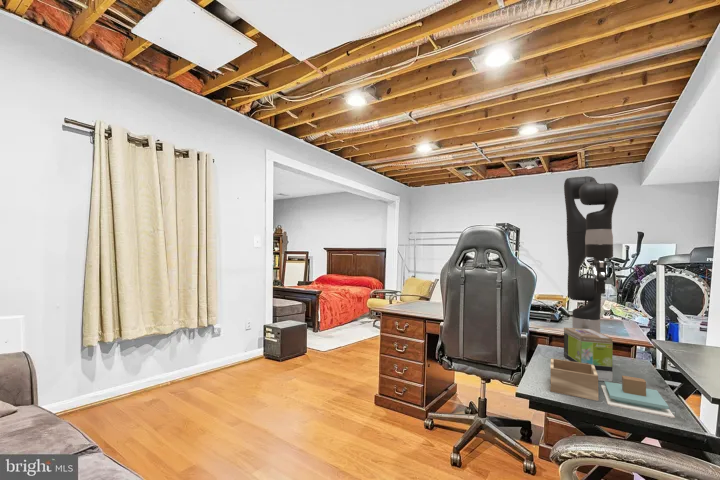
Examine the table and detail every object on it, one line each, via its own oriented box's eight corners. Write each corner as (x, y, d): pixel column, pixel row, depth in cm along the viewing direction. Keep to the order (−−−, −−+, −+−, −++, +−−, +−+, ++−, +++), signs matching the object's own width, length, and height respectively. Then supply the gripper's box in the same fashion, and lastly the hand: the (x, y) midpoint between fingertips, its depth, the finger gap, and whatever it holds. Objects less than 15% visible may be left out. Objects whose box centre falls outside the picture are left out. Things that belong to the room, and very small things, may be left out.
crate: (551, 379, 112) (550, 358, 113) (594, 386, 106) (593, 364, 107) (550, 391, 102) (550, 368, 102) (598, 400, 96) (598, 376, 96)
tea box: (614, 382, 111) (613, 337, 111) (580, 379, 113) (580, 335, 113) (592, 367, 125) (591, 328, 126) (562, 365, 127) (562, 326, 128)
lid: (604, 387, 105) (604, 368, 106) (656, 396, 99) (656, 376, 99) (610, 401, 95) (609, 381, 95) (669, 413, 88) (668, 391, 88)
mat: (601, 386, 107) (601, 384, 107) (658, 396, 100) (658, 394, 100) (608, 405, 93) (607, 403, 93) (674, 418, 86) (674, 416, 86)
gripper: (583, 244, 119) (584, 289, 118) (587, 242, 106) (587, 293, 106) (609, 244, 115) (610, 291, 114) (616, 242, 103) (617, 295, 102)
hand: (599, 292), depth 110 cm, fingers open, 8 cm apart
